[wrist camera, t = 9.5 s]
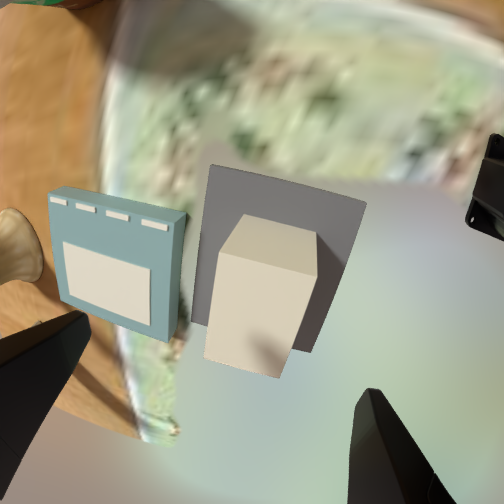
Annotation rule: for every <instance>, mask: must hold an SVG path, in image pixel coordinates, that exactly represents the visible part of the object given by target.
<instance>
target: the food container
mask: <svg viewBox="0 0 504 504" xmlns="http://www.w3.org/2000/svg"><path fill="white" fill-rule="evenodd" d="M101 1H102V0H0V9H1V8H3V7H5V6H6V5H7V4H9V3H17V4H33V5H43V6H52V7H60V8H67V9H83V8H87V7H90V6H93V5H95V4H97V3H99V2H101Z"/></svg>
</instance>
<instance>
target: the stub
mask: <svg viewBox="0 0 504 504" xmlns="http://www.w3.org/2000/svg"><path fill="white" fill-rule="evenodd" d="M316 279H317V244H316V232H313V231H309V230H305V229H302V228H298V227H294V226H290V225H286V224H282V223H278V222H274V221H270V220H266V219H262V218H258V217H254V216H250V215H246V214H244V215H243V216H242V218H241V219H240V221H239V222H238V224H237V225H236V227H235V228H234V230H233V231H232V233H231V234H230V236H229V237H228V239H227V240H226V242H225V243H224V245H223V246H222V248H221V249H220V251H219V255H218V261H217V267H216V274H215V281H214V287H213V294H212V301H211V308H210V314H209V322H208V329H207V336H206V343H205V351H204V358H205V359H208V360H211V361H214V362H218V363H221V364H225V365H229V366H232V367H236V368H239V369H243V370H247V371H251V372H254V373H258V374H262V375H267V376H271V377H275V378H280V375H281V373H282V370H283V368H284V365H285V363H286V360H287V358H288V355H289V353H290V350H291V348H292V345H293V343H294V340H295V337H296V335H297V332H298V329H299V327H300V324H301V321H302V319H303V316H304V313H305V311H306V308H307V305H308V302H309V299H310V297H311V294H312V291H313V288H314V285H315V282H316Z"/></svg>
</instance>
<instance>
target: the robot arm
mask: <svg viewBox="0 0 504 504" xmlns="http://www.w3.org/2000/svg"><path fill="white" fill-rule="evenodd" d="M496 138H497V144H495V139H496ZM473 217H474V220H473V222H471V219H472V218H473ZM465 222H466V224H467V225H468V226H469V227H471V228H473V229H475V230H478V231H480V232H483V233H485V234H488V235H490V236H492V237H495V238H497V239H499V240H502V241H504V137H503V136H501V135H499V134H495V133H493V134H491V135H490V137H489V141H488V145H487V149H486V153H485V157H484V159H483V160H482V164H481V168H480V171H479V174H478V178H477V181H476V184H475V188H474V191H473V197H472V200H471V203H470V206H469V209H468V211H467V214H466V217H465ZM90 337H91V328H90V323H89V318H88V315H87V314H86V313H84V312H81V311H79V310H75V311H72V312H69V313H67V314H64V315H61V316H59V317H56V318H54V319H51V320H49V321H46V322H43V323H41V324H38V325H36V326H33V327H30V328H28V329H25V330H23V331H20V332H18V333H15V334H12V335H10V336H7V337H5V338H2V339H0V500H2V499H3V497H4V495H5V493H6V491H7V489H8V487H9V485H10V483H11V480H12V478H13V476H14V474H15V472H16V471H17V469H18V466H19V465H20V463H21V459H22V458H23V457H24V454H25V453H26V451H27V449H28V447H29V445H30V443H31V442H32V440H33V438H34V436H35V434H36V433H37V431H38V429H39V428H40V426H41V424H42V422H43V421H44V419H45V417H46V415H47V414H48V412H49V410H50V409H51V407H52V405H53V404H54V402H55V400H56V399H57V397H58V395H59V394H60V392H61V391H62V389H63V387H64V386H65V384H66V383H67V381H68V379H69V378H70V376H71V374H72V373H73V371H74V369H75V367H76V365H77V363H78V361H79V359H80V357H81V355H82V353H83V351H84V349H85V347H86V346H87V344H88V342H89V340H90ZM347 502H348V503H347V504H456V502H455V501H454V500H453V498H452V497H451V496H450V494H449V493H448V491H447V490H446V488H445V487H444V486H443V484H442V483H441V481H440V479H439V478H438V476H437V475H436V473H434V470H433V469H432V467H431V466H430V464H429V462H428V461H427V460H426V458H425V456H424V455H423V453H422V452H421V450H420V448H419V447H418V445H417V444H416V442H415V441H414V439H413V438H412V436H411V435H410V433H409V432H408V430H407V429H406V427H405V426H404V424H403V423H402V421H401V420H400V418H399V417H398V415H397V414H396V412H395V411H394V409H393V408H392V406H391V405H390V403H389V402H388V400H387V399H386V397H385V396H384V394H383V393H382V391H381V390H379V389H374V388H367V389H366V390H365V392H364V393H363V395H362V396H361V398H360V399H359V401H358V402H357V404H356V406H355V412H354V420H353V429H352V437H351V444H350V454H349V483H348V501H347Z"/></svg>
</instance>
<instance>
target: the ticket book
mask: <svg viewBox="0 0 504 504" xmlns="http://www.w3.org/2000/svg"><path fill="white" fill-rule="evenodd" d="M48 207H49V221H50V232H51V241H52V250H53V257H54V264H55V271H56V277H57V283H58V289H59V294H60V299H61V301H63V302H65V303H67V304H70V305H72V306H74V307H76V308H78V309H81V310H83V311H85V312H88V313H90V314H92V315H95V316H97V317H100V318H102V319H104V320H107V321H109V322H112V323H114V324H117V325H119V326H122V327H125V328H127V329H130V330H132V331H135V332H138V333H140V334H143V335H146V336H149V337H152V338H154V339H157V340H160V341H163V342H166V343H168V342H169V341H170V339H171V337H172V336H173V334H174V332H175V331H176V329H177V321H178V304H179V289H180V276H181V264H182V252H183V242H184V232H185V222H186V213H185V212H181V211H177V210H172V209H168V208H163V207H159V206H155V205H150V204H146V203H141V202H137V201H132V200H128V199H123V198H119V197H114V196H110V195H105V194H100V193H96V192H91V191H86V190H82V189H77V188H72V187H67V186H63V187H61V188H58V189H56V190H53V191H51V192H49V193H48Z"/></svg>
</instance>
